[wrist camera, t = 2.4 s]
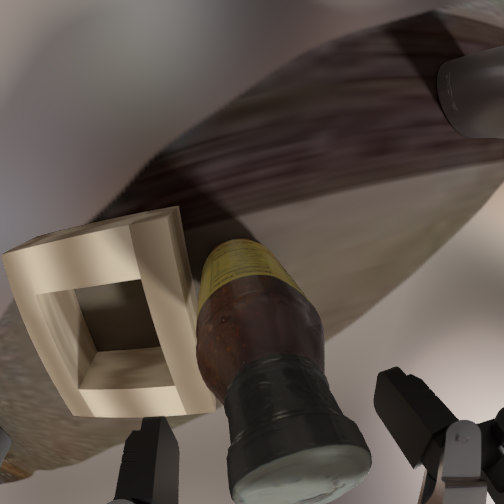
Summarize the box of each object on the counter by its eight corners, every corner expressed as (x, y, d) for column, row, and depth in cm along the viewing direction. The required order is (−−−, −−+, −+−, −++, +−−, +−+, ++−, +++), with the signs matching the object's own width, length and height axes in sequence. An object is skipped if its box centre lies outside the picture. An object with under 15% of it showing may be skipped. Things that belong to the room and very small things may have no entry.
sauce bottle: (267, 307, 26) (351, 517, 7) (197, 299, 25) (187, 531, 6) (282, 236, 25) (444, 410, 6) (207, 224, 23) (194, 433, 5)
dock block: (178, 205, 23) (167, 217, 17) (213, 368, 27) (215, 411, 22) (37, 236, 22) (1, 254, 16) (90, 378, 26) (73, 415, 20)
